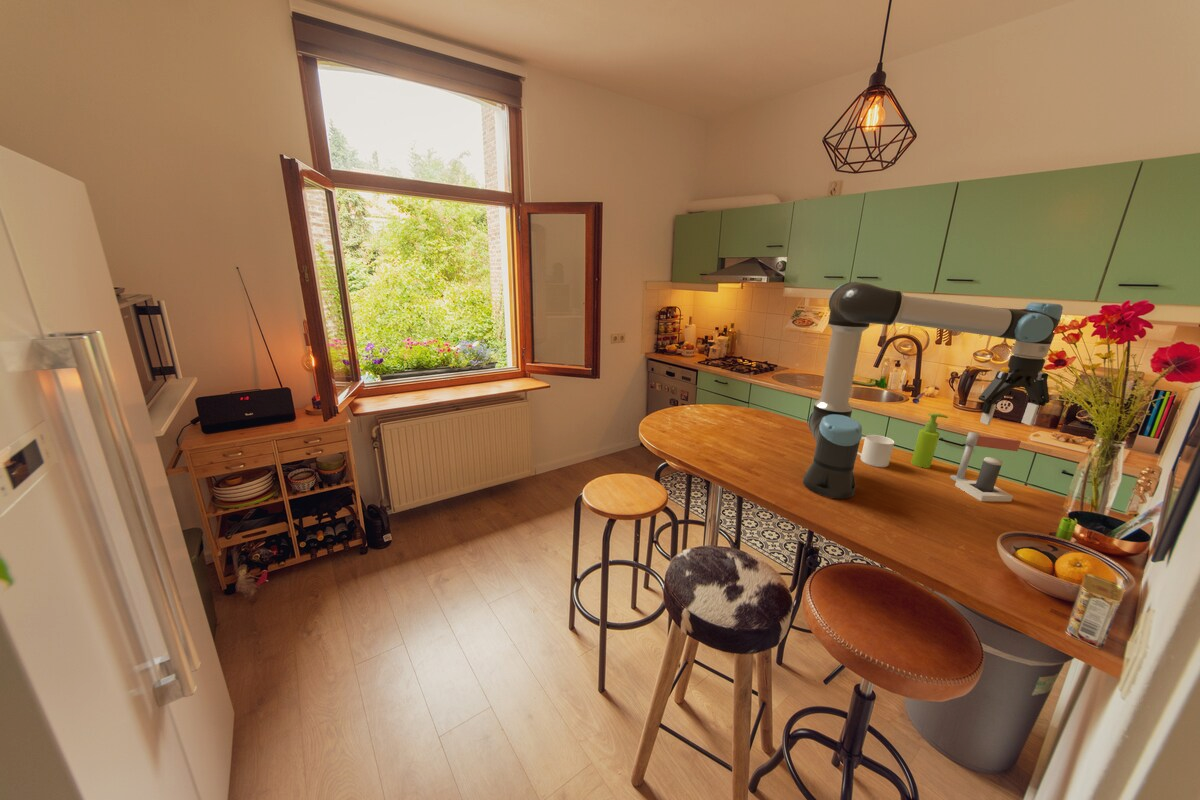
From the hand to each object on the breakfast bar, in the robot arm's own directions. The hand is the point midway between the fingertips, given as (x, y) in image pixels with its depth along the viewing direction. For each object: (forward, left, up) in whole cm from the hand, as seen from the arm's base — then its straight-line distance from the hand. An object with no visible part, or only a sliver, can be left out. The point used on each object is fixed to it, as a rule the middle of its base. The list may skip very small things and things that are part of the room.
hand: (1005, 423), depth 133 cm
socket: (0, +3, -24) cm, 24 cm away
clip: (+5, +7, -11) cm, 14 cm away
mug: (-22, +24, -25) cm, 41 cm away
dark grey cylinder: (0, 0, -24) cm, 24 cm away
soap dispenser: (-4, +21, -24) cm, 32 cm away
